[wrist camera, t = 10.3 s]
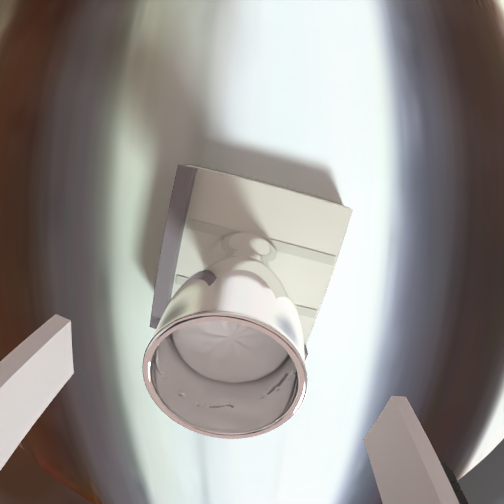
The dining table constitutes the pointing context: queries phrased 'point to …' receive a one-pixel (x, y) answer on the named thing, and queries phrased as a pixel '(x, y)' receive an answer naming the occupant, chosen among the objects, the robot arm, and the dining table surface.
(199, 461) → the dining table surface
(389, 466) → the robot arm
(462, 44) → the dining table surface
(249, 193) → the dock
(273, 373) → the beer glass
